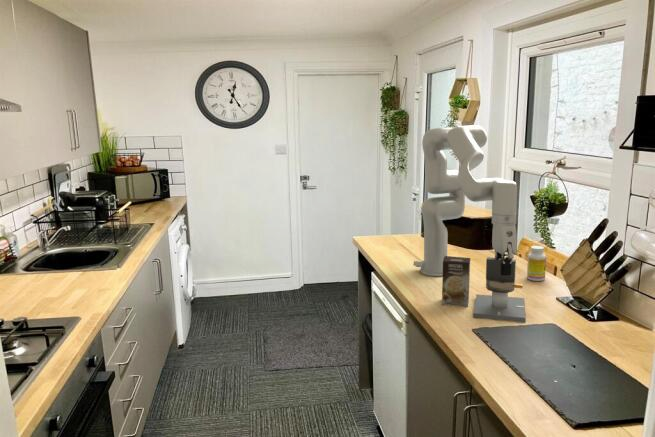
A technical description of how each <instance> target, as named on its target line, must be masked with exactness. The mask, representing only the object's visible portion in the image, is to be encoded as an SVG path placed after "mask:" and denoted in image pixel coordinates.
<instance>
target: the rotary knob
mask: <svg viewBox="0 0 655 437" xmlns="http://www.w3.org/2000/svg"><path fill="white" fill-rule="evenodd" d="M516 261H517V259H514V258H513V259H512V263H511V275H504V276H502V275H501V263H502V258H495V257H489V256H488V257H486V262H485V263H486V264H485V265H486V266H485V267H486V268H485V269H486V270H485V288H486V289H487V290H488V291H490V292H491V293H492V292H497V293H508V294H509V293H512V292H514V291H515V289H523V287H524V285H523V284H521V283H515V281H516V267H517V266H516V265H517V262H516Z"/></svg>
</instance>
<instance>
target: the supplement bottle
mask: <svg viewBox="0 0 655 437" xmlns="http://www.w3.org/2000/svg"><path fill="white" fill-rule="evenodd" d="M544 249H545V248H544V246H541V245H531V247H530V252H529V253H528V254H527V266H526V269H527V270H526V272H527V273H526V278H527V279H528V280H530V281H534V282H542V281H544V280H545V279H546V267H547V266H546V264H547V255H546V254H545V253H544V251H545V250H544Z"/></svg>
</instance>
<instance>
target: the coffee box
mask: <svg viewBox="0 0 655 437" xmlns="http://www.w3.org/2000/svg"><path fill="white" fill-rule="evenodd" d="M470 273H471V257H463V256H462V257H461V256H450V255H447V256H445V257H444V260H443V276H442V282H441V284H442V285H441V287H442V288H441V289H442V290H441V292H442V293H441V305H443V306H444V305H445V306H454V307H455V306H456V307H464V308H468V307H469V301H470V281H471V279H470V278H471V275H470Z"/></svg>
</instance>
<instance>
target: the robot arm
mask: <svg viewBox="0 0 655 437" xmlns="http://www.w3.org/2000/svg"><path fill="white" fill-rule="evenodd" d="M421 141H422V142H421V143H422V145H421V146H422V151H423V154H424V160H425V161H424V162H425V166H424V167H425V169H424V170H425V174H424V175H425V180H424V182H425V190H426V192H427V193H429V194H430V195H441V194H449V195H447V196H446V195H445V196H435V197H430V198H427V199H424V201H423V202H422V204H421V215H422V219H423V220H422V221H423V260H421V261H418V260H413V266H415V267H416V268H419V269H420V270H419V272H420V274H422V275H424V276H428V277H443V260H444V257H445V256H448V237H449V236H448V235H449V234H448V228H447V227H446V226H445V223H444V222H443V221H447V220H454V219H459V218H462V217H463V215H464V213H465V208H466V207H465V204H466V200H465V198H467V199H468V200H469V201H471V202H475V203H478V202H487V201H491V205H492V206H491V224H492V235H491V236H492V237H491V238H492V239H491V243H492V244H491V245H492V246H491V247H492V249H493V250H494V258H502V263H501V275H502V276H504V275H511V263H512V259H514V255H517V253H518V252H517V251H518V241H517V240H518V238H517V236H518V235H517V227H516V225H517V207H518V206H517V204H518V200H517V199H518V184H517V182H515V181H514V180H506V179H504V178H502V177H485V178H476V179H475V178H474V177H473V175H472V174H471V171H472V170H474V169H475V168H477V167H478V166H479V165H480V164H482V162H483V161H484V157H485V155H484V152H483V150H482V149H481V148H483V147H485V145H486V143H487V141H488V136H487V132H486V130H485V129H484V127H482V126H481V125H477V124H476V125H474V124H473V125H458V126H455V127H452V126H451V127H437V128H431V129H429V130H427V131H426V132H425V133H424V134H423V137H422V140H421ZM446 150H448V151H449V150H452V152H453V154H454V155H455V158H456V159H457V160H458V162H459V163H460V165H459V168H458V169H453V168H451V169H450V168H449V169H448V158H447V156H446V154H445V153H444V151H446Z"/></svg>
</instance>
